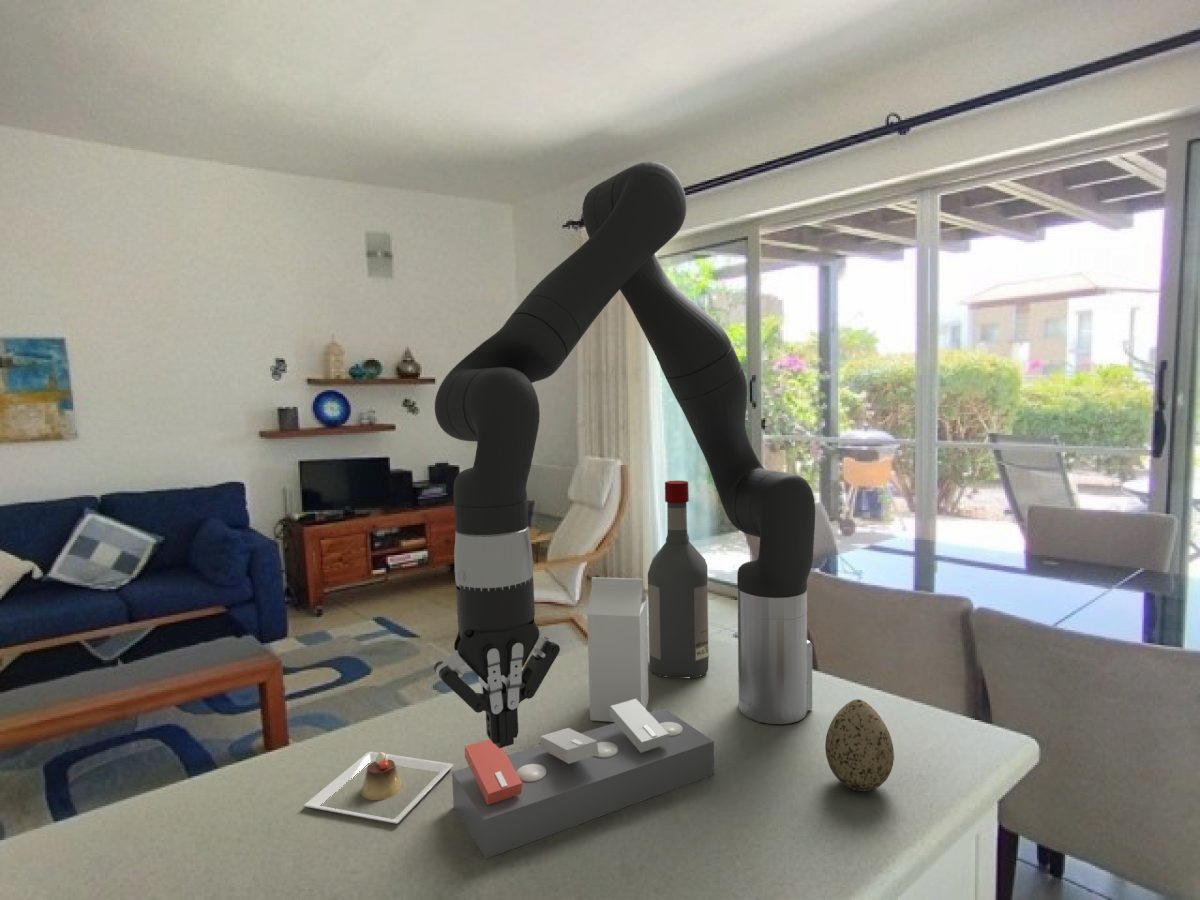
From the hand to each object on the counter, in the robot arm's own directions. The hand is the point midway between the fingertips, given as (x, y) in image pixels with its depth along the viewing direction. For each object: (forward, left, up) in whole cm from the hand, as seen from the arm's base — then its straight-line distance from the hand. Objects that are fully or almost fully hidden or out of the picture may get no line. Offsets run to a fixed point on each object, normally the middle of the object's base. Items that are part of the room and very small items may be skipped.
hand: (502, 743), depth 70 cm
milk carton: (-24, -18, -10) cm, 31 cm away
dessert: (+9, -16, -11) cm, 21 cm away
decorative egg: (-37, +12, -10) cm, 40 cm away
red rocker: (0, -3, -5) cm, 6 cm away
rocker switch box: (-11, -3, -10) cm, 15 cm away
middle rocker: (-9, -3, -5) cm, 10 cm away
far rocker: (-18, -3, -5) cm, 19 cm away
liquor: (-40, -26, -10) cm, 49 cm away
